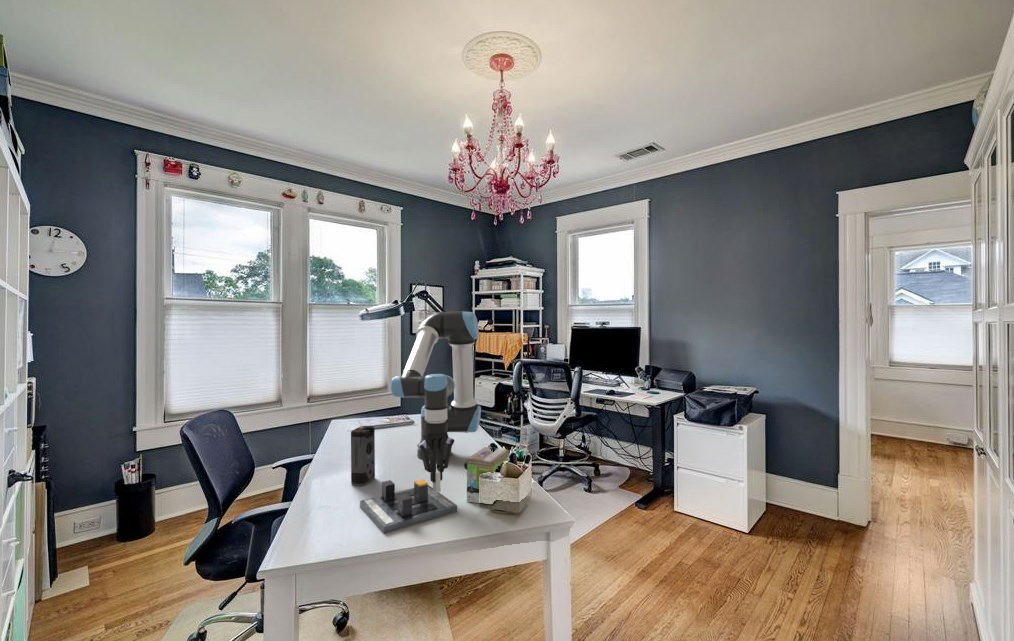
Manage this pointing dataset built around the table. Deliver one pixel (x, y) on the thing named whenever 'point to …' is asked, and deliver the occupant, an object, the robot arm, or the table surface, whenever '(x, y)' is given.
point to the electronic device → (362, 455)
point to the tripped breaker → (421, 490)
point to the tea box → (482, 469)
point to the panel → (409, 519)
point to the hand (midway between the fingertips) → (436, 490)
